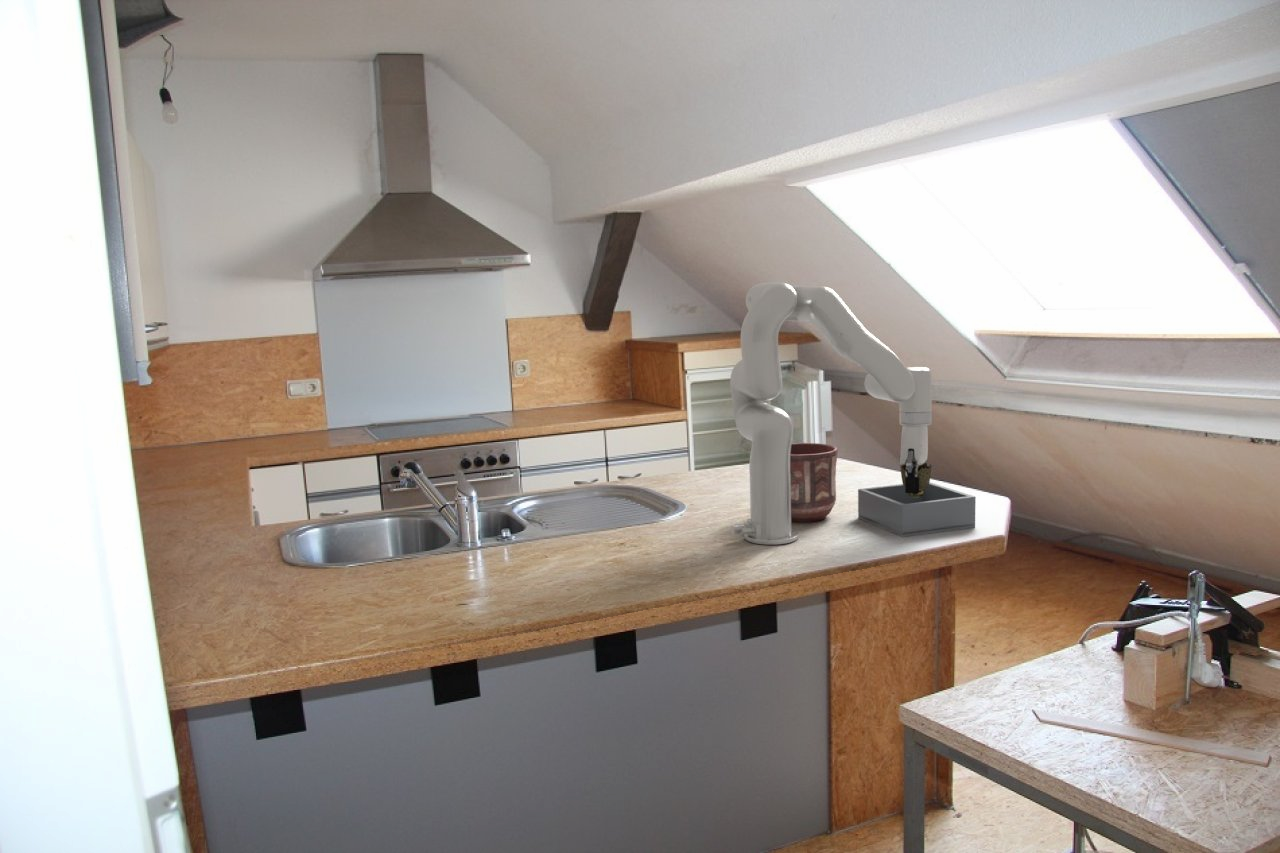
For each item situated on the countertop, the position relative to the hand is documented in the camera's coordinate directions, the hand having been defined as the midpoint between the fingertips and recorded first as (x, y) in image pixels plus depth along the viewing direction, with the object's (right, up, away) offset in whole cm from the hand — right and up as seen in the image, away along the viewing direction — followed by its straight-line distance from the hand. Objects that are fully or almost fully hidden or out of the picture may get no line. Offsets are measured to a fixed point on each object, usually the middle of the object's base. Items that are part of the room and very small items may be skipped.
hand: (915, 489), depth 236 cm
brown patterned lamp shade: (0, -2, 0) cm, 2 cm away
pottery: (-26, -8, +11) cm, 29 cm away
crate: (0, -8, +1) cm, 8 cm away
